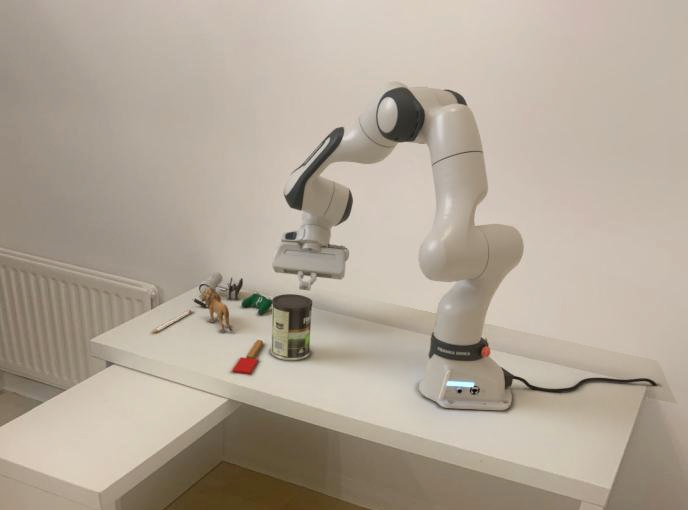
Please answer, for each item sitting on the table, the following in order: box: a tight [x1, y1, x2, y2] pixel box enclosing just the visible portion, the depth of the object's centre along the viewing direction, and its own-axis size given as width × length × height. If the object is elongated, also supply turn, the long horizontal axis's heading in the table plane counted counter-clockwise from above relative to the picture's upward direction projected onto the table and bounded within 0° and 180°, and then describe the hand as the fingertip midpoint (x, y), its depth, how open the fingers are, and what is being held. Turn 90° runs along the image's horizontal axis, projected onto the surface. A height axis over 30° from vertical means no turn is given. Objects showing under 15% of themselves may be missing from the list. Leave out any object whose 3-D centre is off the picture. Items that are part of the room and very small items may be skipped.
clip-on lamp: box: [191, 271, 244, 308], centre depth 226 cm, size 12×6×18 cm
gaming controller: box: [240, 290, 273, 316], centre depth 222 cm, size 9×4×6 cm
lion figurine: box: [198, 287, 234, 333], centre depth 209 cm, size 15×5×9 cm, turn 37°
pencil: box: [153, 309, 192, 333], centre depth 211 cm, size 1×19×1 cm, turn 154°
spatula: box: [232, 339, 264, 375], centre depth 194 cm, size 4×19×1 cm, turn 169°
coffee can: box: [270, 293, 313, 361], centre depth 194 cm, size 10×10×14 cm
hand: (304, 289), depth 204 cm, fingers closed
